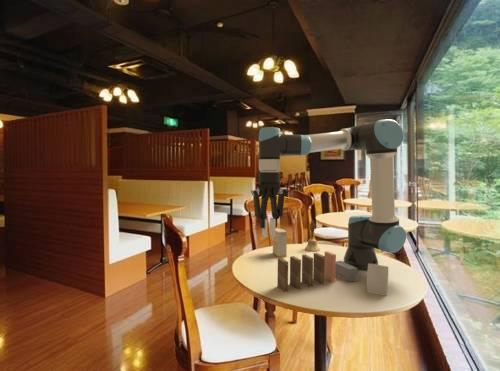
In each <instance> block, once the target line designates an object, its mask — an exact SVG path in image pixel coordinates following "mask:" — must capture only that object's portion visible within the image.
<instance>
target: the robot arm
mask: <svg viewBox="0 0 500 371" xmlns="http://www.w3.org/2000/svg"><path fill="white" fill-rule="evenodd" d="M404 136H405V135H404V130H403V128H402V125H400V124H399V123H398V122H397V121H396V120H395V119H387V118H386V119H378V120H376V121H374V120H373V121H372V122H365V123H362V124H357V125H355V126H350V127H347V128H345V127H344V128H341V129H340V130H339V131H331V132H323V133H313V134H288V133H287V134H284V133H282V132H281V129H280V128H279V127H273V126H270V127H269V126H267V127H261V128H260V129H259V133H258V171H259V173H258V186H257V188H256V189H253V190H251V191H250V194H251V195H252V197H253V207H254V208H253V209H254V217H255V218H258V219H259V228H260V229H261V237H263V238H265V239H266V238H267V239H268V219H267V218H266V216H267V209H268V202H269V200H270V208H271V217H270V218H269V220H270V222H269V236H270V237H272V238H273V237H275V229H277V228H278V220H279V219H280V217H283V214H284V205H285V204H284V203H285V196H286V193H287V190H286V189H284V188H281V186H280V182H281V178H280V177H281V175H280V174H281V173H280V172H279V171H280V169H281V161H280V160H281V157H291V156H299V157H301V156H308V155H309V154H310V153H317V152H324V151H325V152H326V151H332V150H333V151H334V150H342V151H353V150H354V151H365V155H366V156H367V157H368V158H369V163H370V165H369V166H370V190H371V193H370V195H371V212H372V213H371V215H351V216H349V218H348V223H347V225H348V226H347V227H348V228H347V248H346V250H345V254H344V256H343V262H345V263H347V264H349V265H352V266H354V267H356V268H358V270H365V271H367V270H368V263H369V264H375V265H379V260H378V256H377V254H376V251H375V249H377V250H379V251H381V252H385V253H389V254H393V253H397V252H398V251H400V250H401V249H402V248H403V247H404V246H405V243H406V241H407V232H406V230H405V228H404V227H402V226H401V225H400V218H399V217H397V215H396V214H395V212H396V211H395V210H396V208H395V206H396V205H395V181H394V180H395V179H394V178H395V177H394V173H395V172H394V156H395V155H397V153H398V148H400V146H401V145H402V143H403V141H404ZM277 194H278V196H277ZM260 195H261V196H260ZM260 197H261V198H260ZM260 199H261V201H260ZM260 202H261V203H260Z"/></svg>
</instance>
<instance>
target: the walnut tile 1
mask: <svg viewBox="0 0 500 371" xmlns="http://www.w3.org/2000/svg"><path fill="white" fill-rule="evenodd" d="M277 288H279V289H280V290H281V291H282V292H283V293H285V292H289V261H288V260H286V259H284V257H277Z"/></svg>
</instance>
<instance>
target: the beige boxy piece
mask: <svg viewBox="0 0 500 371" xmlns="http://www.w3.org/2000/svg"><path fill="white" fill-rule="evenodd" d="M366 271H367V272H366V290H365V291H366V292H368V293H373V294H377V295H381V296H388V292H389V266H387V265H386V266H385V265H380V264H378V265H375V264H369V263H368V270H366Z"/></svg>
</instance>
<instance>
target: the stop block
mask: <svg viewBox="0 0 500 371" xmlns="http://www.w3.org/2000/svg"><path fill="white" fill-rule="evenodd" d="M358 273H359V269H358V268H356V267H354V266H352V265H349V264H347V263H345V262H344V261H342V260H336V274H335V276H337V277H339V278H341V279H343V280H345V281H347V282H349V283H350V282H355V281H358Z"/></svg>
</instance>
